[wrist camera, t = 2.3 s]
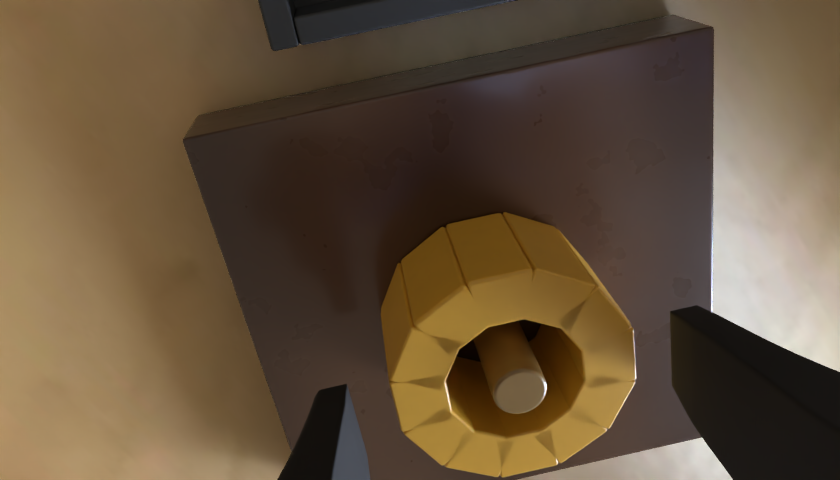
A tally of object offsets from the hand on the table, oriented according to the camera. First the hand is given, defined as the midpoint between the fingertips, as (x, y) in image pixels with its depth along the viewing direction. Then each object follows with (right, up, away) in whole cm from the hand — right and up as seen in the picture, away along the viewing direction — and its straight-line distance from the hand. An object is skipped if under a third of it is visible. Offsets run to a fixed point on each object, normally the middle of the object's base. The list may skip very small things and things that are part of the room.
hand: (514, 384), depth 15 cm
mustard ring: (0, +1, +3) cm, 3 cm away
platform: (-1, +2, +5) cm, 5 cm away
